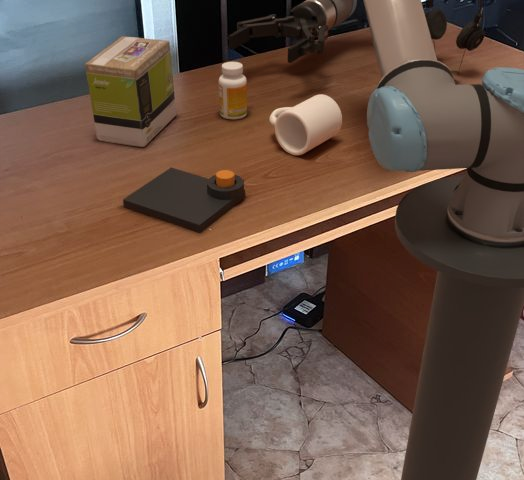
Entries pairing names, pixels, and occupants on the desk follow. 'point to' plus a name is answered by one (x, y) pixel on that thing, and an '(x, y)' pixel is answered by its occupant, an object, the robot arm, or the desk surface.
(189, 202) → the dark grey flat block
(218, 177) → the tare button
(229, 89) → the supplement bottle
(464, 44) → the headphones
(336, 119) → the mug
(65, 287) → the desk surface
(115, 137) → the tea box
